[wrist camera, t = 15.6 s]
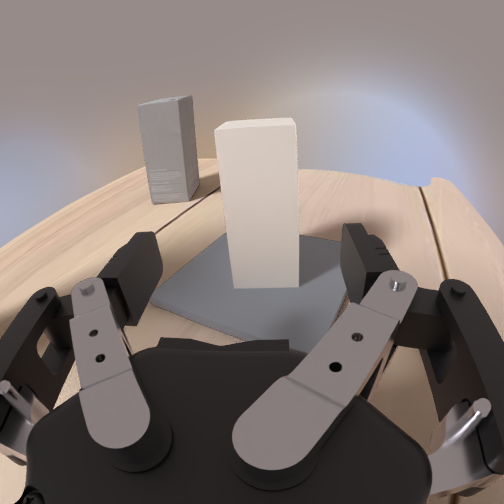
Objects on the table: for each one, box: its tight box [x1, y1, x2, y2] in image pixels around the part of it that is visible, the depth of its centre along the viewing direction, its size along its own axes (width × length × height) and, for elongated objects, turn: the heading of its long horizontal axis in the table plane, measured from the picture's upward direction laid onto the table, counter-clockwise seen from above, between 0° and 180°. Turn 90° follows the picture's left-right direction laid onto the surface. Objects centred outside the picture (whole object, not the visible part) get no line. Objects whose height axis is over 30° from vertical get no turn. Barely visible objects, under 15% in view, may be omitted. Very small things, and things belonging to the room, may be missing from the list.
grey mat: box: [150, 233, 347, 354], centre depth 26 cm, size 14×14×1 cm
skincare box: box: [138, 95, 200, 204], centre depth 43 cm, size 8×7×16 cm
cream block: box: [214, 118, 299, 289], centre depth 22 cm, size 5×5×12 cm
